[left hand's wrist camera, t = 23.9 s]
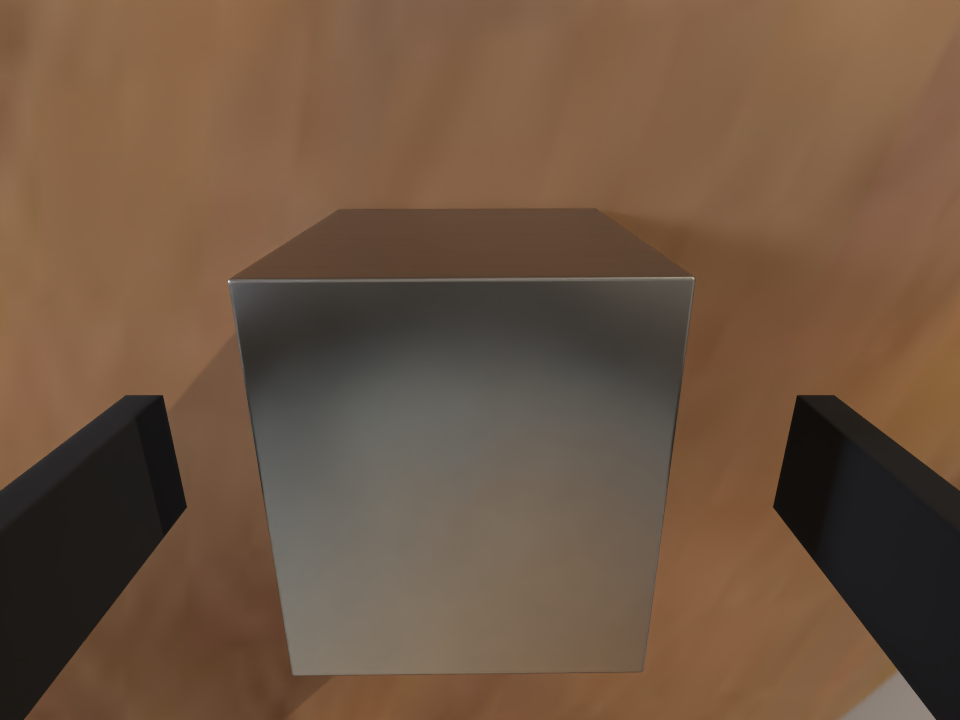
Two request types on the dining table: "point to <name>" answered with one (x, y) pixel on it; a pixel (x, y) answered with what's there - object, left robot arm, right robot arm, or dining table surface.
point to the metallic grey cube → (464, 437)
